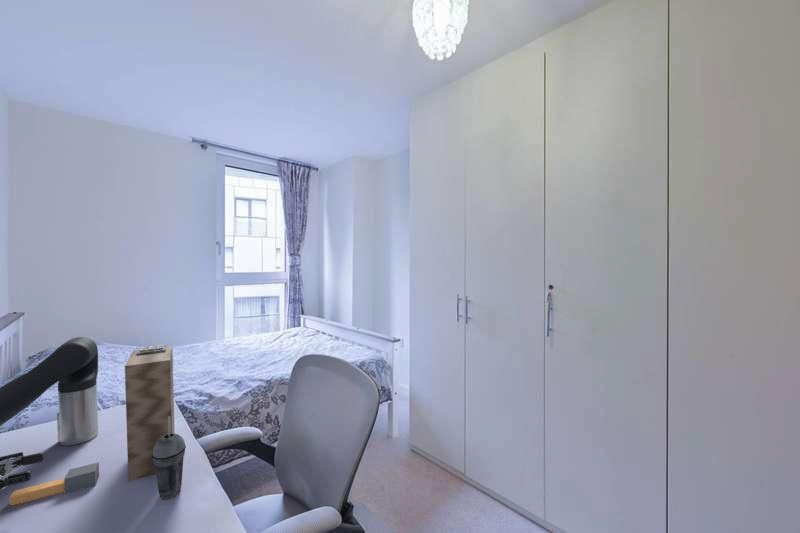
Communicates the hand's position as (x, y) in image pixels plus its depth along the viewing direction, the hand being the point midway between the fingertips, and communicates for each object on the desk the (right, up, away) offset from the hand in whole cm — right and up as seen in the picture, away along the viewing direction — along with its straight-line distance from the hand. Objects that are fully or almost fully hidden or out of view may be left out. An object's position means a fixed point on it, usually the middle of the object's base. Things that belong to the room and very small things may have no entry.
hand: (37, 465), depth 86 cm
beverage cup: (+32, -9, +2) cm, 33 cm away
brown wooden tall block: (+18, -8, +16) cm, 25 cm away
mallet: (+2, -8, +3) cm, 9 cm away
